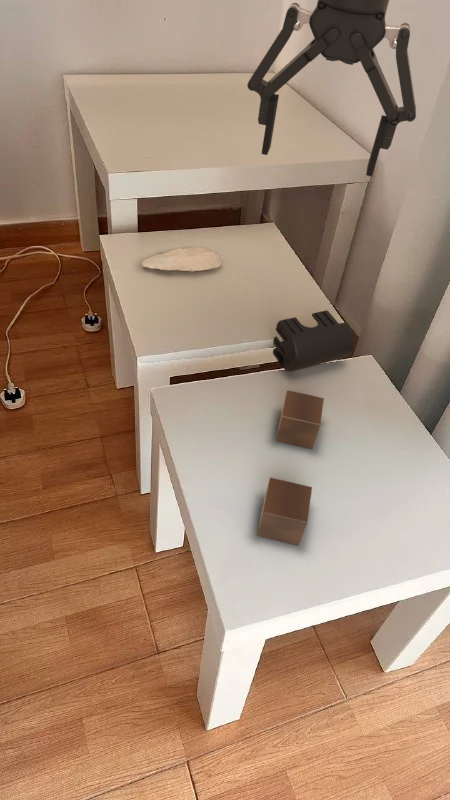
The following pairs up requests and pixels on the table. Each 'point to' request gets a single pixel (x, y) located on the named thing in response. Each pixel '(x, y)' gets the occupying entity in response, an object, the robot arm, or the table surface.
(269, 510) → the walnut block near
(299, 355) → the end cap
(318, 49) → the robot arm
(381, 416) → the table surface
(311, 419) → the walnut block middle
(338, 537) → the table surface
